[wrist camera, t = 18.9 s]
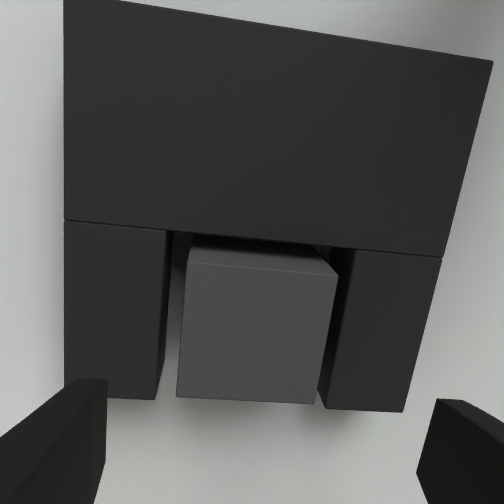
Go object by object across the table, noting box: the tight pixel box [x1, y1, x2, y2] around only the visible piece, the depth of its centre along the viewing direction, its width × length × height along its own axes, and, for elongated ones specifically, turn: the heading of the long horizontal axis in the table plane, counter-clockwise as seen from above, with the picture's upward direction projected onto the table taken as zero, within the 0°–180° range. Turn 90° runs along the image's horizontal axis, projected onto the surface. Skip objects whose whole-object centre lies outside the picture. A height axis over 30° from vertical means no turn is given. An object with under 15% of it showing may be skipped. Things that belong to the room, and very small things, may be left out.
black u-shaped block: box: [63, 0, 493, 413], centre depth 14 cm, size 12×12×2 cm
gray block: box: [176, 234, 338, 404], centre depth 14 cm, size 4×4×4 cm
